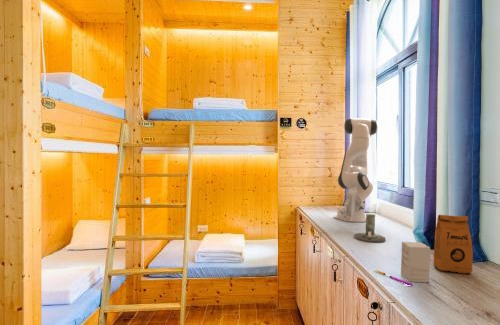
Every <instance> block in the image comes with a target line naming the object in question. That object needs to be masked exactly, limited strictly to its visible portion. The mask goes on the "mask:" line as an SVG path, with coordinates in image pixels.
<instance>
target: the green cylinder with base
mask: <svg viewBox="0 0 500 325" xmlns="http://www.w3.org/2000/svg"><path fill="white" fill-rule="evenodd" d="M365 218H366V221H365V229H364V230H365V232H361V233H362V236H363V237H366V238H368V231H370V232H371V238H378V235H379V234H377V233H375V227H376V226H375V224H376V214H374V213H365Z"/></svg>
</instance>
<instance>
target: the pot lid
mask: <svg viewBox="0 0 500 325" xmlns="http://www.w3.org/2000/svg"><path fill="white" fill-rule="evenodd" d="M362 233H363V232H356V233H354V234H353V236H354V239H355V238H356V239H355V240H357V239H358V240H357V241H361V242H366V243H375V244H378V243H379V244H380V243H385V242H386V239H387V238H386V237H385V236H383V235H380V234H377V235H378V238H371V232H370V231H368V238H366V237H363V236H362Z"/></svg>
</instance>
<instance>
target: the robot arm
mask: <svg viewBox="0 0 500 325" xmlns="http://www.w3.org/2000/svg"><path fill="white" fill-rule="evenodd" d="M378 130H379V123H378V121H377V119H374V118H371V119H370V118H347V119H346V120H345V121H344V122H343V131H344V133H346V134H348V135H351V138H350V144H349V146H348V149H346V151H345V153H344V156H343V159H342V160H343V161H342V165H341V168H340V169H341V170H340V173H339V175H338V177H337V183H338V185H339V186H340V188H342V189H343V190H346V189H348V191H347V192H346V199H345V200H344V202H343V206H341V207H340V208H338V209H337V213H336V214H335V215H334V216H333V218H334V219H336V220H337V219H338V220H341V221H346V222H348V223H349V222H354V223H355V222H356V223H361V222H362V223H366V213H365V212H366V209H365V208H366V199H367V198H368V197H369V196H370V195H371V194H372V192H373V190H374V189H373V188H374V187H373V183H372V182H371V181H370V180H369V178H368V176H367V175H368V149H369V146H370V137H372V136H373V135H375V134H376V133H377V132H378Z"/></svg>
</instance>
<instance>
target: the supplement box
mask: <svg viewBox="0 0 500 325" xmlns="http://www.w3.org/2000/svg"><path fill="white" fill-rule="evenodd" d="M400 257H401V258H400V259H401V260H400V263H401V264H400V274H401V276H402V277H403V278H404V277H405V278H406V279H407V280H408V281H407V280H406V281H407V282H409V281H412V282H411V283H426V282H429V283H430V271H431V270H430V268H431V247H430V246H428V245H426V244H424V243H423V242H421V241H419V242H416V241H401V256H400ZM405 278H404V279H405Z"/></svg>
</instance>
